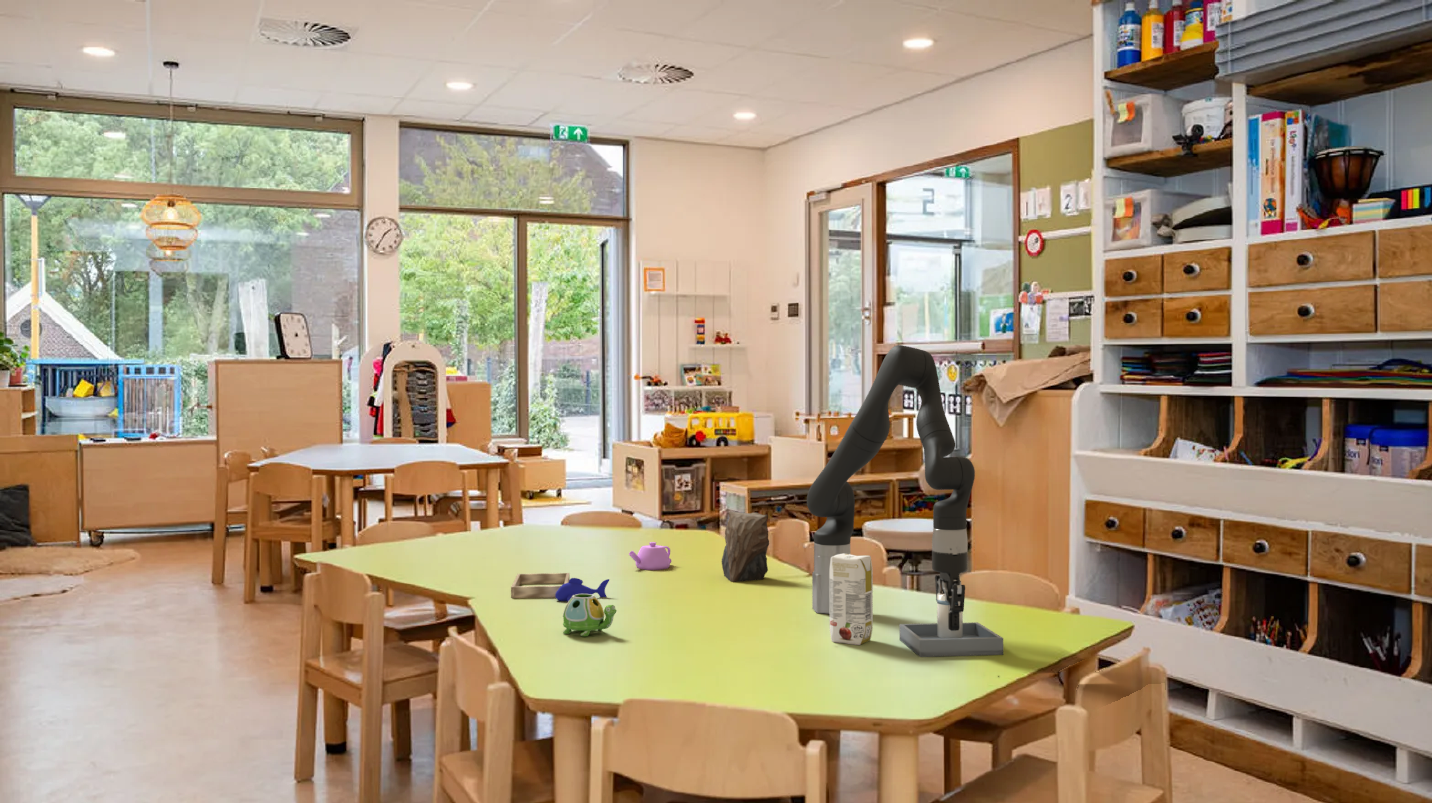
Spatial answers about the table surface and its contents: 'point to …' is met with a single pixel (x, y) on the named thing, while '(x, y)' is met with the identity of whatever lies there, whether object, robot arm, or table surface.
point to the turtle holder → (586, 614)
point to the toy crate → (537, 579)
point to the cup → (946, 619)
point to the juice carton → (851, 599)
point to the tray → (951, 641)
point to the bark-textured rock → (745, 547)
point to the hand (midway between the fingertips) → (949, 626)
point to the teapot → (652, 557)
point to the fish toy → (578, 589)
